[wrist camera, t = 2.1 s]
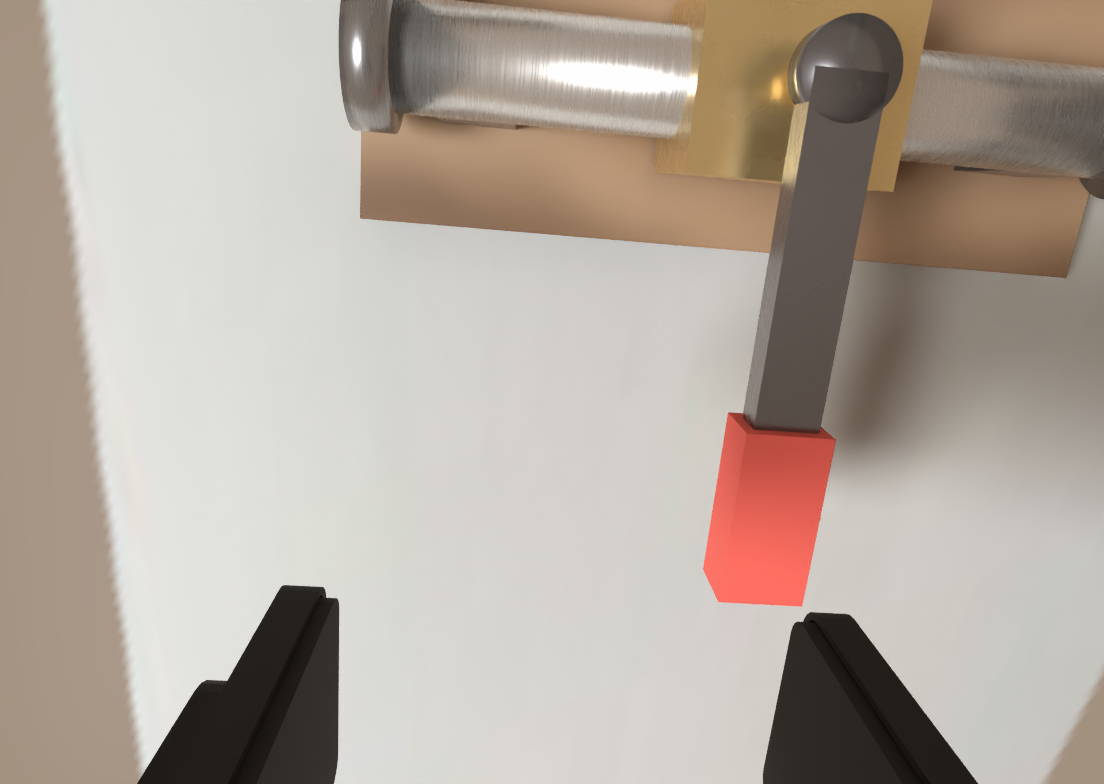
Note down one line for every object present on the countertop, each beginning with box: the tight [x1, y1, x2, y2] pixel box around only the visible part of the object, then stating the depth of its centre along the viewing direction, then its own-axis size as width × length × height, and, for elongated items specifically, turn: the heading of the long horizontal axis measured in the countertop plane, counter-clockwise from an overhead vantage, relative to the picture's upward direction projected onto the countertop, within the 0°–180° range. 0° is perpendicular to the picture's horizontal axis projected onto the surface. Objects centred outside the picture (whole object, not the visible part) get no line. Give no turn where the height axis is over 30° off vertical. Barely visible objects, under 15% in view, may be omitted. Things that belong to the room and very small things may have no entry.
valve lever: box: [703, 13, 903, 606], centre depth 20 cm, size 15×2×2 cm, turn 175°
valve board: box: [339, 0, 1104, 278], centre depth 23 cm, size 10×26×9 cm, turn 85°
